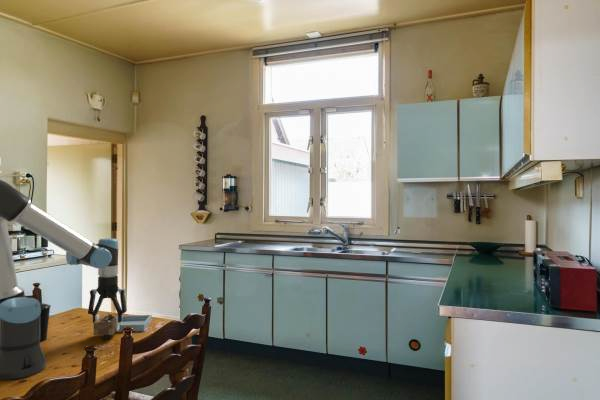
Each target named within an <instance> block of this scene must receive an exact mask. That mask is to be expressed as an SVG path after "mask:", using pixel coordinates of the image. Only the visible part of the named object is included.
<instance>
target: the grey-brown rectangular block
mask: <svg viewBox="0 0 600 400" xmlns="http://www.w3.org/2000/svg"><path fill="white" fill-rule="evenodd" d="M107 317H110V320H111V321H104V320H105V319H106V318H107ZM119 328H120V322H119ZM115 333H117V332H116V315H114V312H109V313H108V314H107V315H102V316H99V319H98V320H96V321H95V322H94V323H93V336H103V335H111V336H113V335H114V334H115Z"/></svg>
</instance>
